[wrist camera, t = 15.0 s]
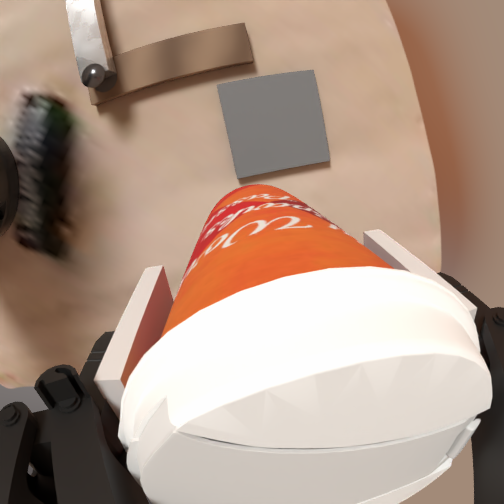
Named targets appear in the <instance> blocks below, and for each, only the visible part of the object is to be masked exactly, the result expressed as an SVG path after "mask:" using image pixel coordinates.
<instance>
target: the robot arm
mask: <svg viewBox="0 0 504 504" xmlns="http://www.w3.org/2000/svg"><path fill="white" fill-rule="evenodd" d="M18 195H19V183H18V174H17V169H16V165H15V161H14V158H13V156H12V153H11V151H10V149H9V148H8V146H7V144H6V143H5V142H4V140H3V139H2V138H1V137H0V236H1V235H3V234H4V233H5V232H6V231H7V229H8V228H9V227H10V225H11V223H12V221H13V219H14V216H15V213H16V209H17V204H18ZM364 246H365V247H367V248H368V249H369V250H371V251H372V252H373V253H374V254H376V255H377V256H378V257H380V258H381V259H382V260H384V261H385V262H386V263H388V264H389V265H390V266H392V267H393V268H394V269H398V270H406V271H409V272H412V273H415V274H418V275H421V276H424V277H427V278H430V279H432V280H434V281H436V282H437V283H439V284H441V285H442V286H444V287H445V288H447V289H448V290H450V291H452V292H453V293H454V294H455V295H456V296H457V297H458V298H459V299H460V301H461V302H462V303H463V304H464V305H465V306H466V307H467V308H468V310H469V312H470V314H471V316H472V319H473V321H474V323H475V325H476V330H477V334H478V339H479V345H480V354H481V356H482V357H483V359H484V361H485V363H486V365H487V368H488V370H489V372H490V375H491V382H492V401H491V406H490V409H487V410H485V411H483V412H481V413H479V414H477V416H476V417H475V419H478V418H479V419H480V420H481V421H480V424H479V425H478V427H477V428H476V430H475V431H474V433H473V434H472V436H471V441H472V453H473V469H474V504H504V308H501V307H497V308H491V309H490V308H489V307H488V306H487V305H485V304H484V303H483V302H482V301H481V300H480V299H479V298H477V297H476V296H475V295H474V294H473V293H471V292H470V291H468V289H466V288H465V287H464V286H461V284H460V283H459V282H458V281H457V280H455V279H454V278H453V277H451V276H448V275H446V274H443V273H441V272H440V273H436V272H434V271H433V270H432V269H431V268H429V267H428V266H427V265H426V264H424V263H423V262H422V261H421V260H419V259H418V258H417V257H415V256H414V255H413V254H412V253H410V252H409V251H408V250H406V249H405V248H404V247H403V246H401V245H400V244H399V243H397V242H396V241H395V240H393V239H392V238H391V237H389V236H388V235H387V234H385V233H384V232H382V231H381V230H380V229H378V230H371V231H365V232H364ZM173 303H174V301H173V298H172V295H171V291H170V288H169V284H168V281H167V277H166V274H165V270H164V267H163V265H160V266H154V267H148V268H146V269H145V271H144V273H143V274H142V276H141V278H140V280H139V282H138V284H137V286H136V288H135V290H134V292H133V294H132V296H131V299H130V301H129V303H128V305H127V307H126V309H125V311H124V313H123V315H122V317H121V319H120V321H119V324H118V326H117V328H116V330H115V331H112V332H105V333H104V334H103V335H102V336H101V337H100V338H99V339H98V340H97V341H96V343H95V345H94V347H93V349H92V351H91V353H90V355H89V357H88V359H87V362H86V363H85V365H84V367H83V369H82V371H81V373H80V376H79V375H78V373H77V371H76V370H75V368H73V367H72V366H70V365H58V366H54V367H52V368H50V369H48V370H47V371H45V372H44V373H43V374H41V375H40V377H39V378H38V379H37V381H36V383H35V387H34V388H35V390H36V391H37V393H38V394H39V396H40V397H41V398H42V400H43V401H44V403H45V404H46V406H47V407H48V408H49V409H48V410H43V411H39V412H34V413H32V412H31V411H30V410H29V408H28V407H27V406H26V405H25V404H24V403H22V402H13V403H10V404H8V405H6V406H5V407H3V409H2V410H1V411H0V504H149V503H148V500H147V498H146V495H145V493H144V491H143V488H142V487H141V486H140V485H139V484H138V483H137V482H136V480H135V479H134V478H133V476H132V475H131V473H130V471H129V470H128V466H127V452H126V451H125V449H124V447H123V445H122V443H121V441H120V439H119V437H118V430H119V423H120V411H121V399H122V396H123V393H124V390H125V387H126V384H127V381H128V379H129V376H130V375H131V373H132V372H133V370H134V369H135V367H136V366H137V364H138V363H139V361H140V360H141V358H142V357H143V355H144V354H145V353H146V352H147V351H148V350H149V349H150V348H151V347H152V346H153V345H155V344H156V343H157V342H158V341H159V340H160V339H161V336H162V333H163V330H164V327H165V325H166V322H167V319H168V316H169V314H170V311H171V308H172V306H173ZM475 419H474V420H475ZM29 465H30V466H31V467H32V468H33V473H32V475H29V474H28V473H27V471H28V466H29Z"/></svg>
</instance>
